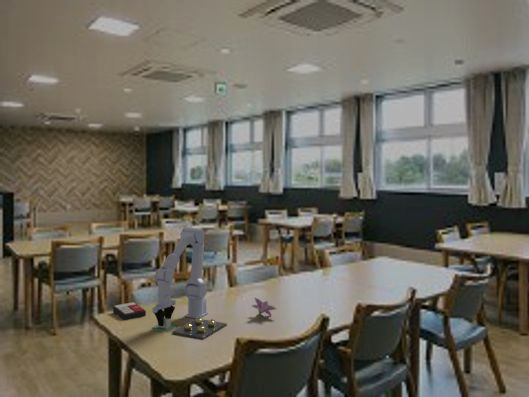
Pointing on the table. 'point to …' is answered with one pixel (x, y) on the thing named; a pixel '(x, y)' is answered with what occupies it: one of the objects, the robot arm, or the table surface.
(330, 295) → the table surface
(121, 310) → the grey and red box
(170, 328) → the teal cross block
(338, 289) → the table surface
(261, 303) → the lily
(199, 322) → the chassis
